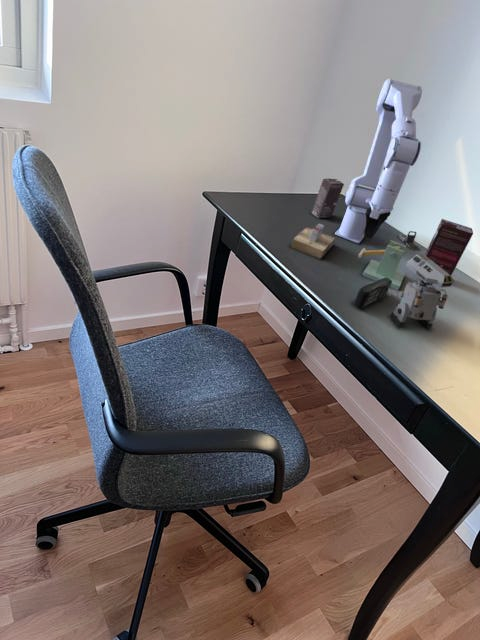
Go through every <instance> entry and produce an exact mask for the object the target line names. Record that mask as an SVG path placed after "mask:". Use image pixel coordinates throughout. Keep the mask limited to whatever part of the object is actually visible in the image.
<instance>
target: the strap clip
mask: <svg viewBox="0 0 480 640" xmlns="http://www.w3.org/2000/svg"><path fill="white" fill-rule="evenodd" d="M411 233H414V234H411ZM416 237H417V232H416V231H412V230H410V231H408V232H407V235H404V234H399V235H398V238H399V239H400V240H401V241H402V242H403V243H405V246H406V247H408V248H410V249H413V250H419V246H418V245H416V244H415V243H414V241H415V239H416Z"/></svg>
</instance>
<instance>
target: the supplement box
mask: <svg viewBox="0 0 480 640" xmlns="http://www.w3.org/2000/svg"><path fill="white" fill-rule="evenodd" d="M473 236H474V231H473V228H472V227H469V226H467V225H463V224H459V223H456V222H454V221H450V220H447V219H444V218H441V220H440V222H439V224H438V225H437V228H436V230H435V232H434V234H433V237H432V238H431V240H430V242H429V244H428V247H427V249H426V251H425V253H424V255H425V256H427V257H428V258H429V259H430V260H432V261H433V262H434V263H435V264H437V265H438V266H439V267H440V266H441V265H443V268H442V269H443V270H444V271H446V272H447V273H448V274H449V275H451V276H452V275H453V273H454V272H455V270H456V267H457V265H458V264H459V262H460V260H461V259H462V256H463V254H464V252H465V250H466V249H467V246H468V245H469V243H470V241H471V240H472V237H473Z"/></svg>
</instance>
